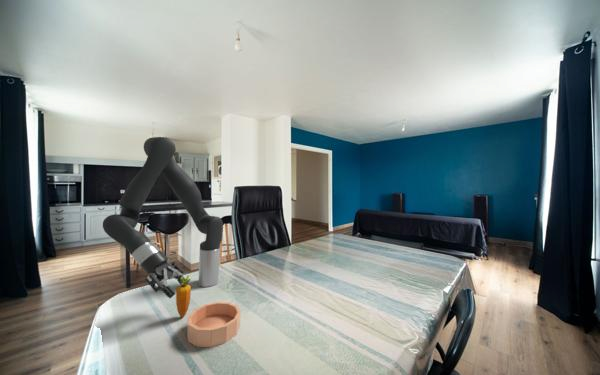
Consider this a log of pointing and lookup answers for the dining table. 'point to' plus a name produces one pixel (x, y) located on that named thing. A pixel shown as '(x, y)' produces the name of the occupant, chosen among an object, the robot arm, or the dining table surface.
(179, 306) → the carrot
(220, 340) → the terracotta bowl
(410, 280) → the dining table surface
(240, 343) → the dining table surface
